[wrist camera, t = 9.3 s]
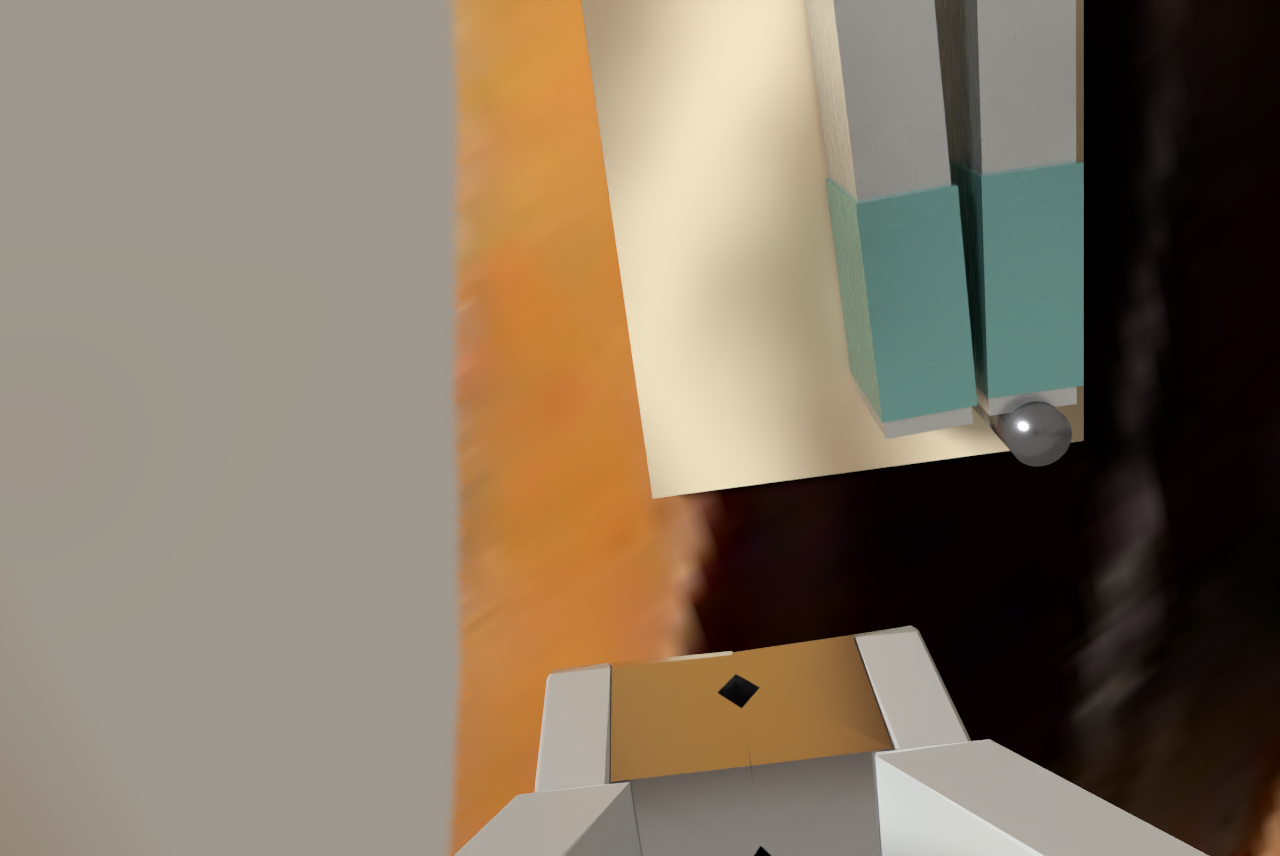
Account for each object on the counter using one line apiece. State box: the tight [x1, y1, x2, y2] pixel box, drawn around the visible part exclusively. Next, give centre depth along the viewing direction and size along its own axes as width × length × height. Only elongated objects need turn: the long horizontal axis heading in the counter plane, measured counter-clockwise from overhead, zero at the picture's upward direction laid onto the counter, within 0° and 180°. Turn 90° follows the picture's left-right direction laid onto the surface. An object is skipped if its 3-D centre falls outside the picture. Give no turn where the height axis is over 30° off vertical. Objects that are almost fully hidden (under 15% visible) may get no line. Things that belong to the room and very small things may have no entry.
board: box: [581, 0, 1084, 498], centre depth 29 cm, size 12×14×1 cm
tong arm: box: [806, 0, 977, 439], centre depth 26 cm, size 2×10×4 cm, turn 11°
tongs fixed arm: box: [934, 0, 1084, 466], centre depth 26 cm, size 2×12×4 cm, turn 8°
